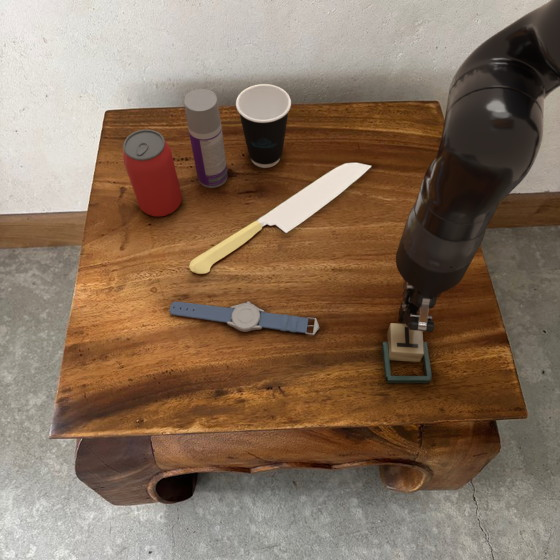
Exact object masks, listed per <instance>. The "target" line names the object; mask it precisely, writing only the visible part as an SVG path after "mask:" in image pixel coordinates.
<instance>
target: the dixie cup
mask: <svg viewBox="0 0 560 560" xmlns="http://www.w3.org/2000/svg"><path fill="white" fill-rule="evenodd" d="M235 100H236V101H235V107H236V110H237V112H238V113H239V117H240V122H241V126H242V131H243V136H244V140H245V145H246V149H247V155H248V157H249V159H250V161H251V162H252V163H253V165H255V166H256V167H259V168H262V169H268V168H272V167H275V166H276V165H277V164H278V163H279V162H280V160H281V157H282V156H283V151H284V145H285V138H286V130H287V123H288V117H289V111H290V110H291V107H292V100H291V97H290V95H289V93H288V92H287V91H286V90H285V89H283V88H282V87H280V86H277V85H274V84H268V83H260V84H259V83H258V84H254V85H251V86H249V87H247V88H245V89H243V90H242V91H241V92H240V93H239V94H238V96H237V98H236V99H235Z"/></svg>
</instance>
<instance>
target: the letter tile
mask: <svg viewBox="0 0 560 560" xmlns="http://www.w3.org/2000/svg"><path fill="white" fill-rule="evenodd" d="M423 332H424V331H417V330H410V329H409V328H408V326H407V325H406V324H402V323H394V322H391V323H390V324H389V326H388V329H387V331H386V337H387V340H386V342H387V343H388V352H389V361H397V362H410V363H411V362H412V363H420V362H421V360H422V359H423V358H422V357H423V355H424V345H423V342H424V334H423Z"/></svg>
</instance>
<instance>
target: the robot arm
mask: <svg viewBox="0 0 560 560" xmlns="http://www.w3.org/2000/svg"><path fill="white" fill-rule="evenodd" d="M559 87H560V0H549V1H548V2H546V3H544V4H543V5H541V6H540V7H537V8H535V9H533V10H531V11H530V12H527V13H526V14H524V15H523V16H521V17H520V18H518V19H516V20H515V21H514V22H512V23H510V24H509V25H507V26H505V27H504V28H502V29H501V30H499V31H498V32H496V33H495V34H493V35H492V36H489V38H487V39H486V40H484V41H483V42H482V43H480V45H478V46H477V47H476V48H475V49H473V51H472V52H471V53H470V54H469V55H468V56H467V57H466V58H465V60H464V61H463V62H462V63H461V64H460V66H459V67H458V69H457V70H456V72H455V74H454V75H453V77H452V80H451V82H450V85H449V89H448V95H447V101H446V102H447V103H446V109H445V115H444V120H443V126H442V133H441V138H440V141H439V146H438V149H437V154H436V157H435V158H434V159H433V160H432V161H431V163H430V165H428V167H427V170H426V171H425V174H424V176H423V178H422V181H421V185H420V188H419V191H418V194H417V196H416V200H415V202H414V204H413V205H412V208H411V210H410V211H409V213H408V215H407V219H406V222H405V225H404V228H403V231H402V234H401V238H400V241H399V244H398V246H397V250H396V254H395V265H396V268H397V271H398V273H399V275H400V276H401V277H402V289H403V291H402V294H401V295H402V301H401V304H400V307H399V309H398V322H399V323H401V324H406V325H407V326H408V328H409V329H410V330H417V331H423V332H427V333H433V332H434V330H435V323H434V322H435V321H434V320H433V316H432V315H429V312H430V309H433V308H434V307H435V306H436V303H437V300H438V298H439V297H441V295H442V294H443V293H444V292H448V291H450V290H451V289H453V288H455V287H456V286H457V285H458V284H459V283H461V281H462V280H463V278H464V276H465V274H467V271H468V269H469V267H470V266H471V263H472V261H473V260H474V258H475V256H476V254H477V252H478V250H479V249H480V247H481V245H482V242H483V240H484V237H485V235H486V230H487V228H488V226H489V224H490V222H491V221H492V218H493V216H494V215H495V214H496V213H495V212H496V211H497V209H498V207H499V205H500V203H501V202H502V201H503V200H504V199H506V198H507V196H509V194H511V192H513V190H514V189H516V188H517V186H518V185H520V184H521V182H522V181H523V180H524V179H525V178H526V177H527V175H528V174H529V172H530V171H531V169H532V167H533V165H534V164H535V161H536V159H537V158H538V154H539V152H540V149H541V146H542V142H543V137H544V107H545V99H546V98H548V96H549V95H550V94H551V93H553V92H554V91H555V90H556V89H558V88H559Z"/></svg>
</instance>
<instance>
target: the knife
mask: <svg viewBox="0 0 560 560" xmlns="http://www.w3.org/2000/svg"><path fill="white" fill-rule="evenodd" d="M371 168H372V165H369V164H364V163H361V162H345V163H343V164H341V165H339V166H336V167H334V168H333V169H332V170H330V171H328V172H326V173H325V174H324V175H322V176H321V177H319V178H318V179H316V180H315V181H313V182H312V183H310V184H309V185H307V186H306V187H304V188H303V189H301V190H299V191H298V192H297V193H295V194H294V195H292V196H290V197H289V198H288V199H286V200H285V201H283V202H281V203H280V204H278V205H277V206H276V207H275V208H273V209H271V210H269V212H267V213H266V214H263V215H262V216H260V217H259V218H258V219H256V220H254V221H253V222H252V223H249V224H248V225H246V226H245V227H243V228H242V229H240V230H238V231H236V232H235V233H234V234H232V235H230V236H228V237H227V238H225V239H224V240H222V241H220V242H219V243H217V244H215V245H214V246H212V247H210V248H209V249H207V250H206V251H204V252H202V253H201V254H198V256H196V257H194V258H193V259H192V260H191V261H190V262H189V266H188V267H189V270H190V271H191V272H192V273H195V274H199V275H202V274H203V275H204V274H208V273H209V272H211V268H212V266H213V265H214V264H215V263H217V262H218V261H220V260H222V259H223V258H225V257H227V256H228V255H229V254H231V253H232V252H234V251H235V250H237V249H239V248H240V247H241V246H243V245H244V244H245V243H247V242H248V241H249V240H250V239H252V238H253V237H254V236H255V235H256V234H257V233H258V232H260V231H261V230H262V229H263V227H264V226H266V225H268V226H269V227H272V226H276V227H277V228H278V229H280V230H282V232H283V233H285V234H288V233H289V232H290V231H291V230H293V229H295V228H296V227H297V226H299V225H301V224H302V223H303V222H305V221H306V220H307V219H309V218H310V217H312V216H313V215H314V214H315V213H317V212H318V211H319V210H321V209H322V208H323V207H325V206H326V205H328V204H329V203H330V202H331V201H333V200H334V199H335V198H337V197H338V196H339V195H341V194H342V193H343V192H344V191H346V189H348V188H349V187H350V186H351V185H352V184H353V183H355V182H356V181H357V180H359V179H360V178H361V177H362V176H363V175H364V174H366V172H368V171H369V170H370V169H371Z"/></svg>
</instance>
